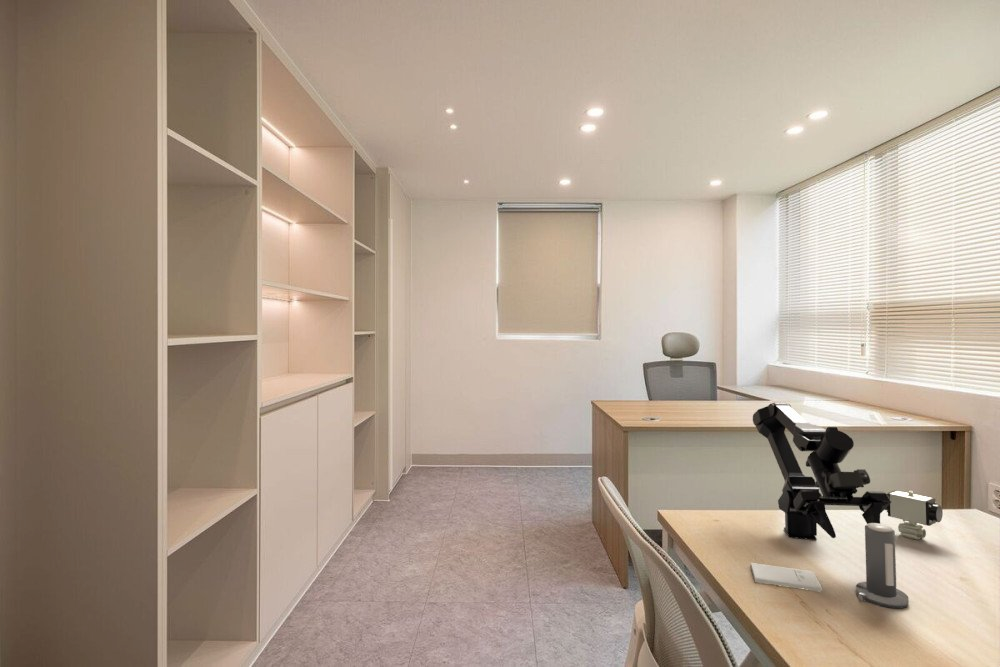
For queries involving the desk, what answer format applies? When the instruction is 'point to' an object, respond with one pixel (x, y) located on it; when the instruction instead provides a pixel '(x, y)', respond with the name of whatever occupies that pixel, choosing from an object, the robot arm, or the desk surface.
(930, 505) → the pneumatic valve
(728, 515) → the desk surface
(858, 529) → the desk surface
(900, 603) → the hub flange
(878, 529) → the dark gray cylinder
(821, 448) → the robot arm
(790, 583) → the external hard drive
